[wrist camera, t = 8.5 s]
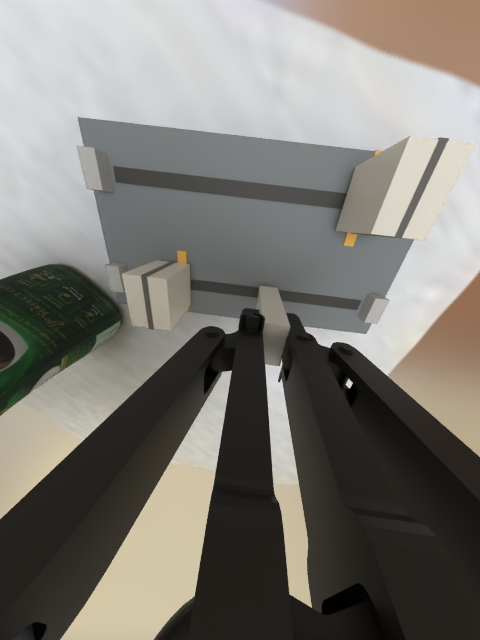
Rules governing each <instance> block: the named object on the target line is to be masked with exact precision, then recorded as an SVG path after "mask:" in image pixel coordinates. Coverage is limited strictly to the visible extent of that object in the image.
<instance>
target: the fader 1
mask: <svg viewBox="0 0 480 640" xmlns="http://www.w3.org/2000/svg"><path fill="white" fill-rule="evenodd" d="M122 278H123V283H124V288H125V293H126V298H127V303H128V308H129V313H130V318H131V323H132V326H137V327H145V328H149V329H161V330H169V331H171V330H172V329H173V327H174V326H175V325H176V323H177V322H178V321H179V320H180V318H181V317H182V316H183V314H184V313H185V312H186V311H187V309H188V308H189V307H190V305H191V293H190V264H184V263H176V262H173V261H171V262H167V261H159V260H156V261H154V262H151V263H148V264H146V265H143V266H140V267H138V268H135V269H133V270H130V271H127V272H125V273H122Z"/></svg>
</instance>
